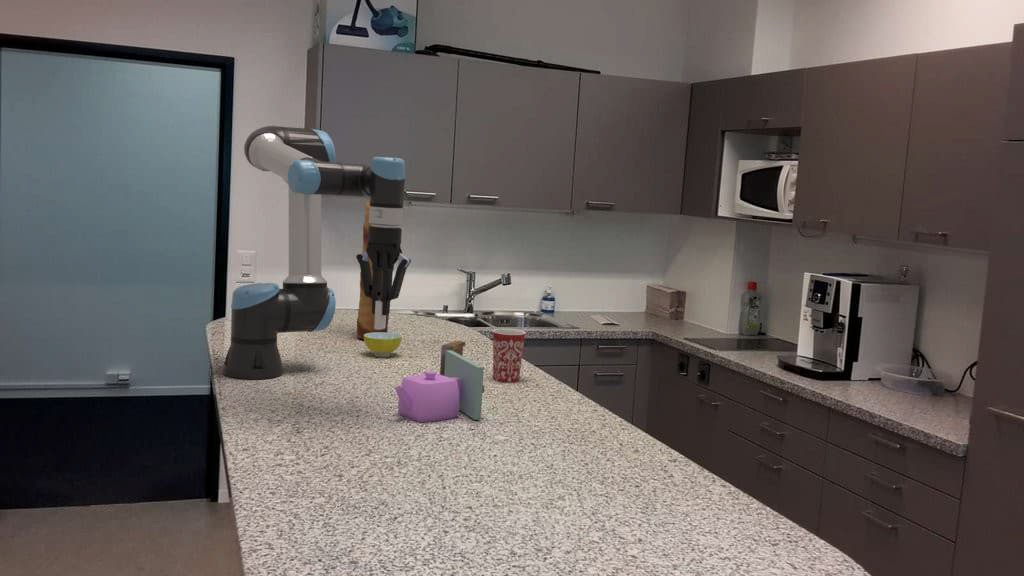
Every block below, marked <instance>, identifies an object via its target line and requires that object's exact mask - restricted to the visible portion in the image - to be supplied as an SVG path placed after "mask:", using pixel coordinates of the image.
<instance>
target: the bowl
mask: <svg viewBox="0 0 1024 576" xmlns="http://www.w3.org/2000/svg"><path fill="white" fill-rule="evenodd" d="M402 338H403V336H402V335H401V334H398V333H394V332H387V333H385V332H374V333H366V334H364V339H363V341H364V344H365V346H366V347H367V349H368V350H370V352H373V353H374V356H375V357H377V358H387V357H390V356H391V353H393V352H395V351H396V350H397V349H398V348H399V347H400V345H401V343H402Z"/></svg>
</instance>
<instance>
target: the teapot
mask: <svg viewBox="0 0 1024 576" xmlns="http://www.w3.org/2000/svg"><path fill="white" fill-rule="evenodd" d="M394 390H395V392H396V395H397V397H398V402H397V409H398V413H399V415H401V416H402V417H405V418H408V419H410V420H412V421H415V422H417V423H429V422H430V423H431V422H432V423H433V422H437V421H439V422H440V421H445V420H451V419H454V418H455V419H456V418H458V416H459V412H460V410H459V407H460V401H459V398H461V379H460V378H457V377H455V378H449V377H446V376H443V375H440V373H437V372H436V371H432V370H427V371H424V374H418V375H409V376H405V377H403V378H402V380H401V385H398V386H394Z"/></svg>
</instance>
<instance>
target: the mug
mask: <svg viewBox="0 0 1024 576" xmlns="http://www.w3.org/2000/svg"><path fill="white" fill-rule="evenodd" d="M492 333H493V335H492V336H493V342H492V347H493V348H492V349H493V353H492V379H493V380H494V381H496V382H501V383H516V382H517V383H518V382H519V381H520V376H521V367H522V360H523V353H524V352H523V351H524V344H525V337H526V335H527V333H526V331H524V330H522V329H521V330H520V329H516V328H515V329H514V328H495V329H493V330H492Z"/></svg>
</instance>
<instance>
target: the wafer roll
mask: <svg viewBox="0 0 1024 576" xmlns="http://www.w3.org/2000/svg"><path fill="white" fill-rule="evenodd" d="M369 208H370V200H369V201H367V203H366V205H365V212H364V213H365V214H364V221H363V222H364V223H363V226H362V227H363V228H362V234H363V235H362V253H363V252H365V251H366V248H367V246H368V227H369V226H371V224H370V223H369ZM362 253H361V254H362ZM368 261H369V264H370V269H371V276H372V280H373V270H372V262H371V260H370V258H369V260H368ZM359 274H360V275H359V276H360V277H359V278H360V279H359V280H360V281H359V302H358V311H357V319H356V338H357V339H359V340H364V334H366V333H374V332H385V333H388V324H389V318H390V317H389V316H390V314H389V315H386V327H385V329H381V330H377V329H374V323H375V314H372V299H371V298H370V297H366V296H365V293H364V287H363V281H362V275H361V271H360V273H359ZM382 285H383V273H382ZM381 296H382V291H381ZM381 299H382V298H381Z"/></svg>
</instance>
